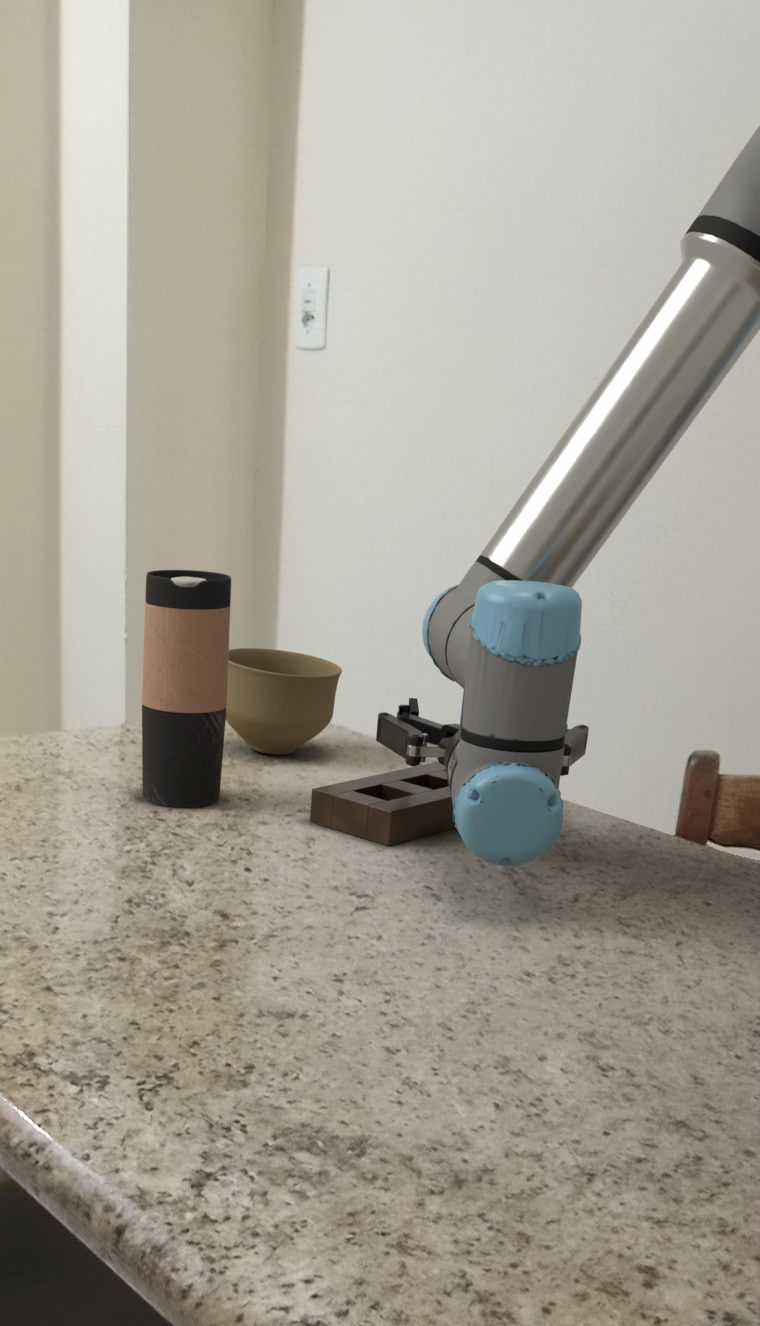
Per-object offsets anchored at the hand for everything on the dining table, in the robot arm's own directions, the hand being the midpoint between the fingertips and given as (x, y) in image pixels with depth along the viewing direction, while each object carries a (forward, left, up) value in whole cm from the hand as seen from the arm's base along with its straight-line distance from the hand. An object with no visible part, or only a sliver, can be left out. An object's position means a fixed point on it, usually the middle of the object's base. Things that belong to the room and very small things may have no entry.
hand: (475, 716), depth 131 cm
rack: (-2, +9, -8) cm, 12 cm away
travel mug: (+15, +24, -8) cm, 29 cm away
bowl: (+23, +3, -8) cm, 24 cm away
